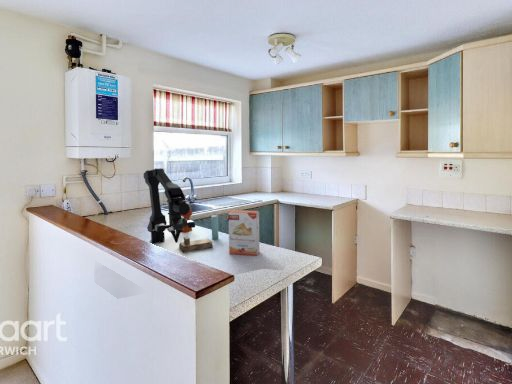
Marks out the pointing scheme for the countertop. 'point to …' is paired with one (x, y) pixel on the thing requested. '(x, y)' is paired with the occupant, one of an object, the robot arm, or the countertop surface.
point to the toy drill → (186, 228)
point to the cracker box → (243, 232)
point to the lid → (194, 242)
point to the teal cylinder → (214, 227)
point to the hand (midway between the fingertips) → (176, 242)
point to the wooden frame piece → (195, 247)
